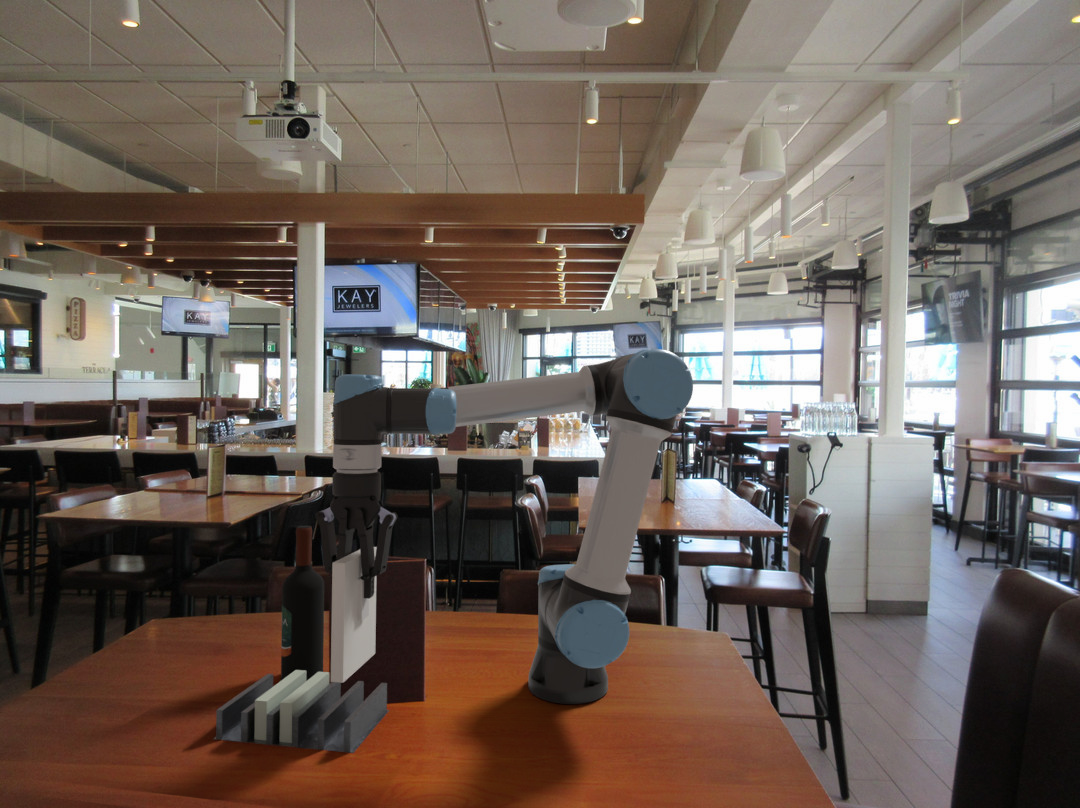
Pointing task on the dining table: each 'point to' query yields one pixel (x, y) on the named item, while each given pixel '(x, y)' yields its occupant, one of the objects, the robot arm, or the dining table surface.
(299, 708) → the offcut
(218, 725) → the rack
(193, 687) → the dining table surface
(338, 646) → the tall sheet
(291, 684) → the offcut
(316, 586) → the wine bottle
